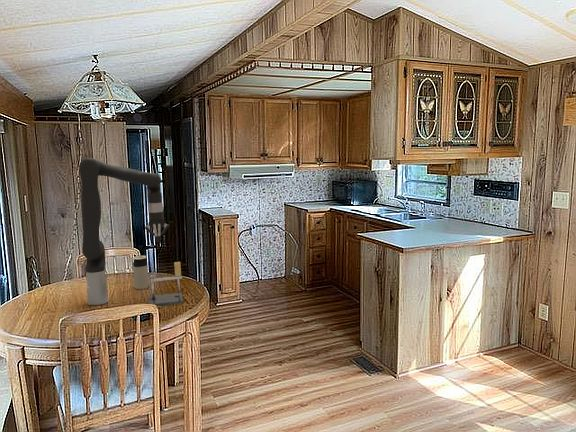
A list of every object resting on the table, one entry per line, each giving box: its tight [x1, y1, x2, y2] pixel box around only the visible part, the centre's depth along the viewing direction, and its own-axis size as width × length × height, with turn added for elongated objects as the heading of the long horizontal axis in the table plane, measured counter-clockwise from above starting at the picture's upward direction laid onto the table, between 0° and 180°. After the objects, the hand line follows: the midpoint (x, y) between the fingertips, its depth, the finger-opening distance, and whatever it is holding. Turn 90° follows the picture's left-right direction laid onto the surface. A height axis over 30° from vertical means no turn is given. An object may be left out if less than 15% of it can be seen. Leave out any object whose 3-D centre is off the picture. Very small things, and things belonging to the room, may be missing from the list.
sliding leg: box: [173, 261, 182, 295], centre depth 234 cm, size 3×4×18 cm
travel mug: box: [132, 255, 150, 290], centre depth 257 cm, size 8×8×18 cm
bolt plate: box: [147, 274, 184, 307], centre depth 232 cm, size 18×14×14 cm
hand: (158, 242), depth 240 cm, fingers closed
